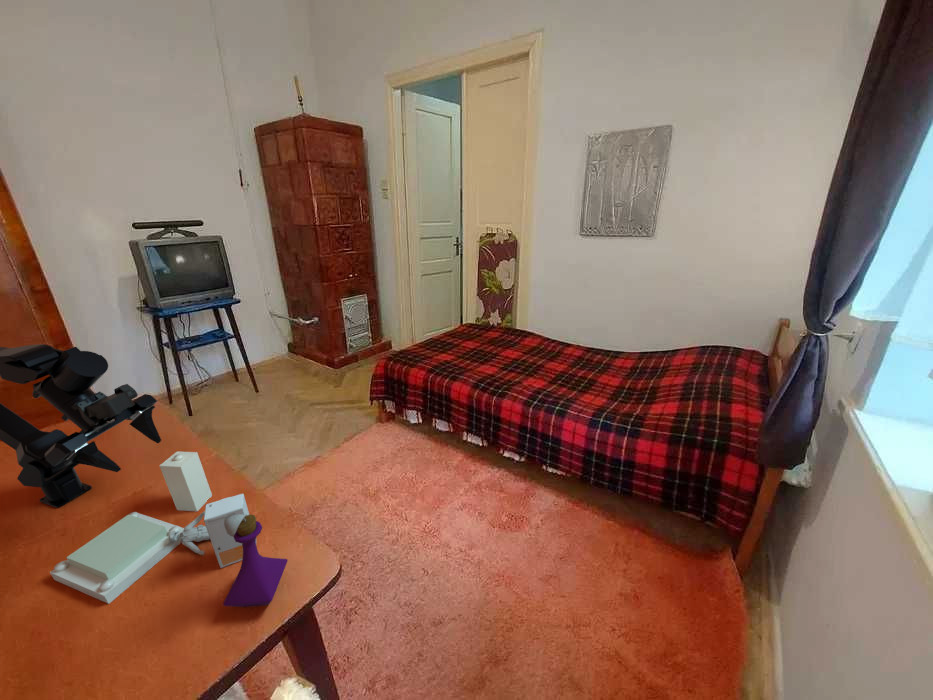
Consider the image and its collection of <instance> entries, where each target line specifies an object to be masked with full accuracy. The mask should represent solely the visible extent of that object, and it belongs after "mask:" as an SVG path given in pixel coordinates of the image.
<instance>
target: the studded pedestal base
mask: <svg viewBox="0 0 933 700" xmlns="http://www.w3.org/2000/svg"><path fill="white" fill-rule="evenodd" d="M184 528H185V527H183V526H182V527H181V526H179V525H176V524H172V523H170V522H166V521H164V520H160V519H157V518H154V517H151V516H149V515H145V514H142V513H139V512H137V511H133V512H130V513H129V514H127V515H125V516H124V517H123V518H121V519H119V520H118V521H117V522H116V523H114V524H112V525H111V526H110V527H108V528H106V530H103V532H101V533H99V534H98V535H97V536H95V537H94V538H92V539H91V540H89V541H88V542H87V543H85V544H84V545H82V546H81V547H79V548H78V549H76V550H75V551H74V552H72V553H71V554H69V555H68V556H66V559H67V560H62V561H60V562H58V563H57V564H55V565H54V567H53V569H52V570H51V571H49V573H50V576H52V577H51V578H53V580H54V581H56V582H58V583H61V584H62V585H65V586H68V587H70V588H71V589H74V590H76V591H78V592H81V593H84V594H85V595H87V596H90V597H92V598H94V599H97V600H99V601H101V602H104V603H106V604H108V605H109V604H110V603H112V602H113V601H114V600H115V599H117V598H118V596H120V595H121V594H122V593H124V592H125V591H126V590H127V589H128V588H130V586H132V585H133V584H134V583H135V582H136V581H137V580H139V579H140V578H141V577H142V576H144V575H145V574H146V573H147V572H148V571H149V570H151V569H152V568H153V567H154V566H155V565H156V564H158V563H159V562H160V561H161V560H162V559H163V558H165V557H166V556H167V555H169V553H170V552H172V551H173V550H174V549H175V548H176V547H178V546H179V545H180V544H181V543H182V540H181V539H179V538H180V534H179V533H182V532H183V530H184ZM174 530H175V532H176V533H177V532H178V535H179V536H178V539H177V540H176V541H175V542H174V544H173V543H169V534H170V533H171V532H172V531H174Z"/></svg>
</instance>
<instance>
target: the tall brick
mask: <svg viewBox="0 0 933 700" xmlns="http://www.w3.org/2000/svg"><path fill="white" fill-rule="evenodd" d="M159 469H160V470H161V474H162V476H163V478H164V481H165V485H166V486H167V488H168V491H169V494H170V495H171V496H170V497H171V498H172V500H173V503H174V505H175V509H176V510H177V511H186V512H198V511H199V510H200V509H202V507H203V506H204V505H206V504H207V502H208V501H209V500H210V499H209V498H212V496H213V493H212V491H211V488H210V485H209V482H208V480H207V477H206V473H205V471H204V468H203V465H202V462H201V459H200V457H199V454H198V452H197V451H176V452H174V453H173V454H172V455H171V456H169V458H167V459H166V460H165V461H164V462H162V463H161V464H159ZM208 499H209V500H208ZM207 500H208V501H207Z"/></svg>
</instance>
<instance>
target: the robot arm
mask: <svg viewBox="0 0 933 700" xmlns="http://www.w3.org/2000/svg"><path fill="white" fill-rule="evenodd" d="M108 369H109V362H108V361H107V359H106V358H105V357H104V356H103V355H102V354H99V353H96V352H94V351H89V350H80V349H79V348H78V347H77V346H73V347H70V348H68V349H65V350H61V349H58V348H55V347H53V346H51V345H48V344H45V343H44V344H43V343H40V344H39V343H38V344H28V345H23V346H16V347H5V346H0V379H2V380H5V381H9V382H12V383H16V384H19V385H25V384H28V383H30V382H34V381H36V380H39V379H42V378H44V377H45V378H44V379H43V380H41V381H38V382H36V383H33V384H32V388H33V390H32V393H31V395H32V397H33V398H34V399H38V398H40V397H42V398H43V399H45V401H47V402H48V403H49V404H50V405H52V406H53V407H54V408H55V409H56V410H57V411H59V412H60V413H61V414H62V415H61V417H60V418H61V419H62V420H63V421H64V422H67V421H71V422H72V423H73V424H75V425H76V427H78V428H79V429H80V431H79V432H77V431H74V432H73V433H71V434H70V435H67V434H66V433H65V432H63V430H60V429H53V430H51V431H43V430H41V429H39V428H38V427H36V426H35V425H33V424H32V423H30V422H29V421H27V420H26V419H24V418H23V417H21V416H20V415H18V414H17V413H16V412H14V411H12V410H11V409H9V408H8V407H7V406H6V405H4V404H2V403H1V402H0V441H1V442H2V443H4V444H6V445H7V446H9V447H10V448H12V449H13V450H15V453H16V459H17V463H18V465H19V466H20V467H21V468H22V470H21V471H20V473H19V474H18V475H17V480H18V481H19V482H20V484H21V485H22V486H24V487H31V488H40V489H41V491H42V493H43V494H44V496H43V497H41V498H40V499H39V502H40V503H42V504H46V505H48V506H51V507H54V508H56V509H57V508H58V509H59V508H61V507H63V506H64V505H66V504H67V503H69V502H72V501H73V500H74V499H77V498H78V497H79V496H81V495H83V494H85V493H87V492H88V491H90V490H92V489H93V487H92V485H90V484H88V483H87V484H86V483H83V482H82V481H81V479H80V477H79V475H78V473H77V472H76V469H75V467H76V466H79V465H86V466H91V467H95V468H99V469H103V470H107V471H111V472H114V473H118V472H120V471H122V468H121V467H120V466H119V465H118V464H117V463H116V462H115V461H114V460H112V459H111V458H110V457H109V456H107V455H106V453H105V454H104V452H102V451H101V450H100V449H99V448H98V446H97V444H96V442H95V440H93V439H95V438H97V437H99V436H100V435H102V434H104V433H105V432H107V431H109V430H110V429H112V428H114V427H116V426H117V425H119V424H121V423H122V422H124V421H131V422H130V423H129V425H130V426H131V427H133V428H134V430H137V431H138V432H140V433H141V434H143V436H145V437H146V438H148V439H149V440H150V441H153V442H154V443H157V444H160V442H162V438H161V436H160V434H159V431H158V430H157V427H156V426H155V423H154V419H153V411H154V409H155V408H156V406H155V404H156V403H158V399H157V398H155V397H154V396H153V395H151V394H147V393H144V394H143V395H140V396H139V397H138V395H139V394H138V392H137V390H136V389H135V388H133V387H132V386H131V385H130V384H129V383H125V384H123V385H119V386H118V387H116V388H114V389H113V390H114V393H113V394H110V395H107V394H105V393H103V392H101V391H97V393H96V392H94V391H93V390H92V389H91V387H93V385H94V384H95V383H97V382H98V381H99V380H100V378H101V377H103V376H104V374H105V373H106V372H107V371H108ZM46 376H47V377H46ZM92 440H93V441H92ZM90 441H91V442H90Z"/></svg>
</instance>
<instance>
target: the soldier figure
mask: <svg viewBox="0 0 933 700" xmlns="http://www.w3.org/2000/svg"><path fill="white" fill-rule="evenodd" d="M204 515H205V510H204V511H202V512H201V513H200V514H199V515H198V516H197V517H195V518H194V520H193V521H191V522H190V523H188V524H187V525H186V526H184V527H183V528H184V530H183V532H182V533H179V534H180V538H179V539H181V540H182V542H181V543H182V545H184V546H185V547H186V548H188V549H189V550H191V551H192V552H194V553H196V554H198V555H201V556H204V554H205V551H203V550H200V548H199V547H198V546H197V545H196V544H194V542H196V543H197V542H200V543H201V541H209V540H210V537H209V534H208V531H207V528H206V525H203V524H198V523H199V522H200V521H201V520H202V519H203V517H204ZM197 524H198V525H197ZM196 525H197V526H196ZM178 536H179V535H178V532H177V533H176V532H175V530H174V531H172V532H171V533H170V534H169V543H173V544H174V542H175V541H176V540H177V539H178Z"/></svg>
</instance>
